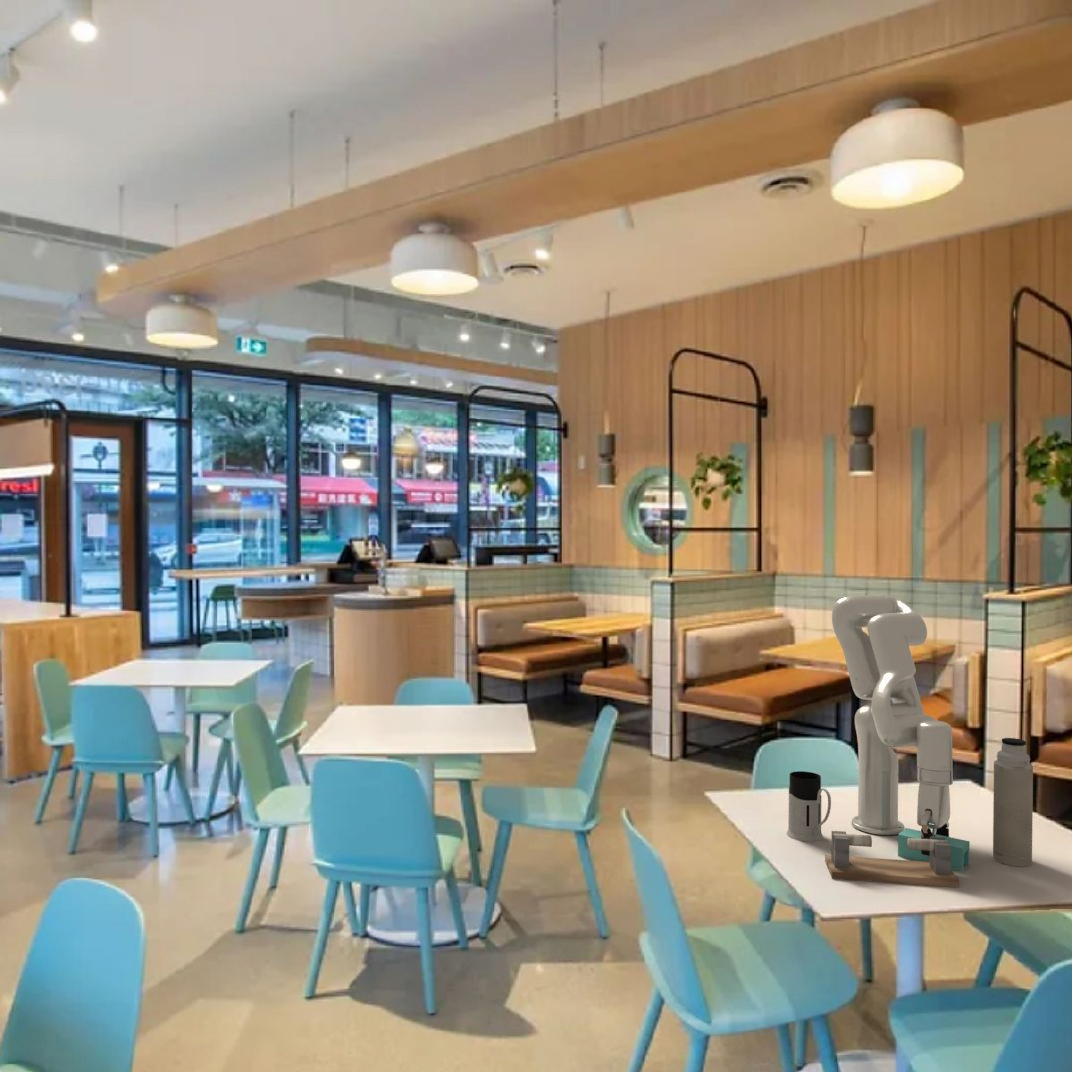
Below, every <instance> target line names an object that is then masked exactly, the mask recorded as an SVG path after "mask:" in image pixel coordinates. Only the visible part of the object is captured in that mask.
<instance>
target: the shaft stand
mask: <svg viewBox="0 0 1072 1072" xmlns="http://www.w3.org/2000/svg"><path fill="white" fill-rule="evenodd" d="M830 839H831V846H830V847H831V848H830V850H831V851H830V853H831V855H829V854H828V855H827V854H824V862H825V865H826V868H827V869H828V872H829V875H830V877H831V879H838V880H846V881H847V880H850V881H863V882H864V881H866V882H877V883H878V882H879V883H890V884H891V883H893V884H906V885H907V884H908V885H909V884H910V885H923V886H935V887H950V888H951V887H952V888H960V881H959V879H958V877H957V876H956V875H955V873H954V872H953V870H952V869H951V845H950V844H949V843H948V841H947V840H946V839H945V838H943V837H930V839H918V838H908V849H911V850H927V851H930V862H924V861H917V860H907V859H893V858H892V859H891V858H889V859H888V858H878V857H877V858H876V857H860V856H850V846H851V847H863V848H864V847H867V848H871V847H872V846H873V840H872V836H871V835H869V834H868V835H865V834H851V833H849V834H848V833H847V832H846V831H841V830H838V831H837V830H831V837H830Z"/></svg>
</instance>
